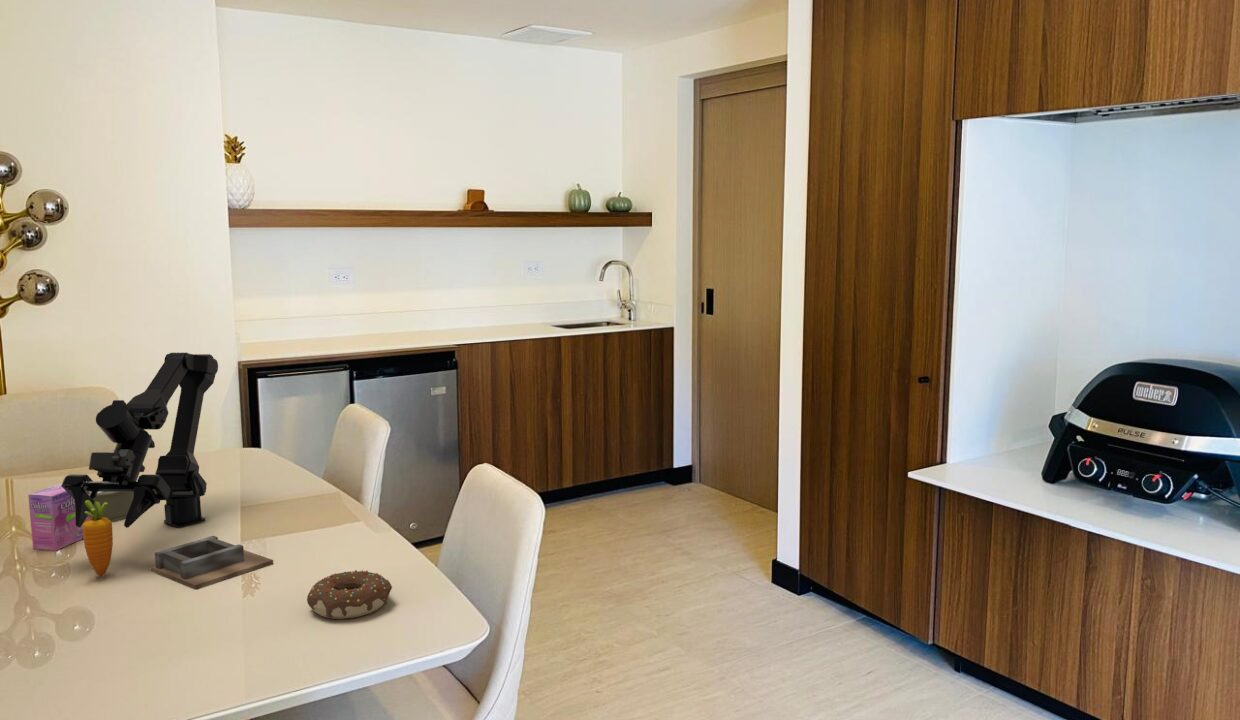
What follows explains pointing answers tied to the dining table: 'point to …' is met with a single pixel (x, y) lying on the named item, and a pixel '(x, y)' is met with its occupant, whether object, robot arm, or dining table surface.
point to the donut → (349, 594)
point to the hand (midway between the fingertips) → (101, 526)
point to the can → (115, 504)
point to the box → (53, 519)
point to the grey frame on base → (206, 562)
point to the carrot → (98, 538)
